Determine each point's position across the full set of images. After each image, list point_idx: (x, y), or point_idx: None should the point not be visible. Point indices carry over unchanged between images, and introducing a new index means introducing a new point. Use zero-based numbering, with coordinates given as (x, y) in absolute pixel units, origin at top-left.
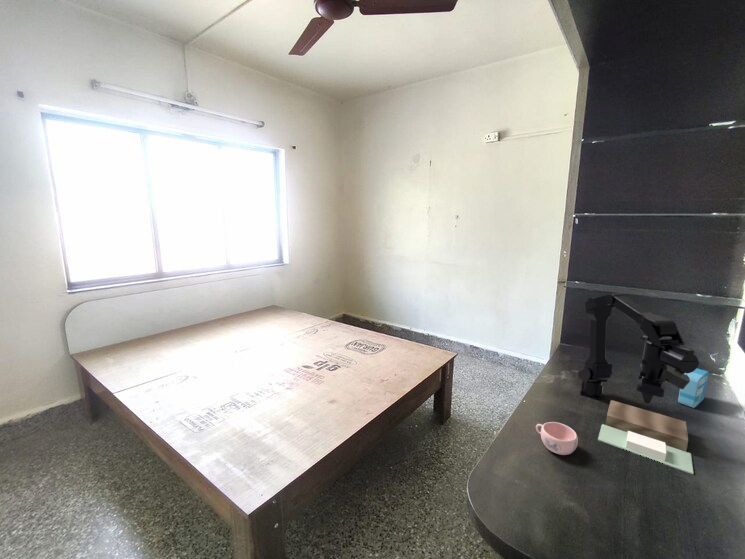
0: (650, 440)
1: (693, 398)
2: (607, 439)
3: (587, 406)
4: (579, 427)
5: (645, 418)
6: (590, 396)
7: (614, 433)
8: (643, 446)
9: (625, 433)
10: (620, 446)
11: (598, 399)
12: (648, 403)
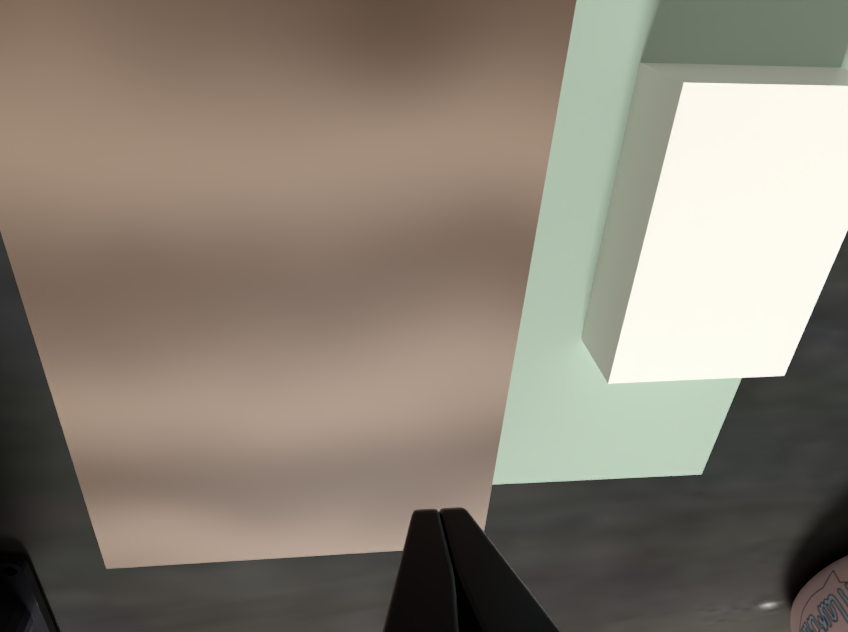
0: (702, 218)
1: None
2: (680, 434)
3: (229, 579)
4: (586, 557)
5: (292, 290)
6: (37, 608)
7: (565, 410)
8: (830, 267)
9: (518, 351)
10: None
11: (21, 559)
12: (465, 510)
